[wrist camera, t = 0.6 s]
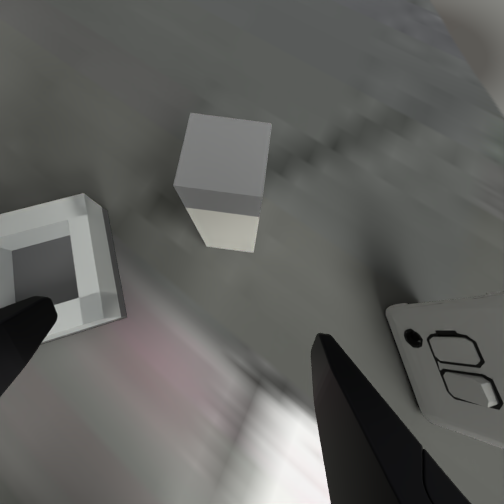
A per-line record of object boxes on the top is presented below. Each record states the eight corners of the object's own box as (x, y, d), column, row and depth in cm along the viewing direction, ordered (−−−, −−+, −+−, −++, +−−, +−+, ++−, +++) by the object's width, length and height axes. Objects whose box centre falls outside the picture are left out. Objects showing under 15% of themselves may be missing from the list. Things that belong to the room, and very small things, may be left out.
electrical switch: (380, 306, 21) (493, 298, 13) (426, 294, 22) (561, 278, 14) (420, 420, 19) (592, 507, 10) (470, 401, 20) (666, 465, 11)
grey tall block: (253, 252, 22) (262, 197, 12) (206, 246, 22) (173, 185, 12) (259, 209, 23) (271, 123, 13) (214, 203, 23) (190, 112, 13)
